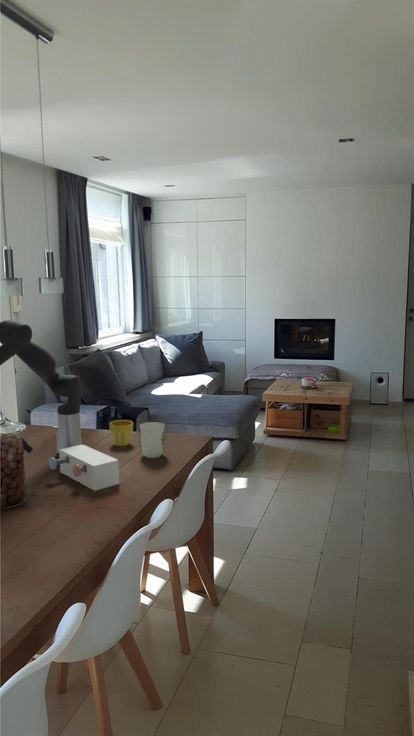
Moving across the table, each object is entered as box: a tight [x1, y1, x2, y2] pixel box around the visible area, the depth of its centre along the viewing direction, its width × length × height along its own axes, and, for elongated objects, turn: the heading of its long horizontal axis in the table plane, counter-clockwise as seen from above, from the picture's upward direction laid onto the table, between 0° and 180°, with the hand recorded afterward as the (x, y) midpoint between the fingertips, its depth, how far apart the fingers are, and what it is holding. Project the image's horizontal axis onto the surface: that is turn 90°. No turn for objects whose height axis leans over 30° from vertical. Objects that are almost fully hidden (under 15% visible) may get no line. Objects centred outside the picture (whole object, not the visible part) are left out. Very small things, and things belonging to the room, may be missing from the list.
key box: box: [58, 444, 120, 492], centre depth 214 cm, size 10×26×9 cm, turn 41°
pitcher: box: [138, 421, 167, 459], centre depth 241 cm, size 11×18×14 cm, turn 178°
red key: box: [73, 464, 86, 477], centre depth 206 cm, size 8×4×4 cm, turn 131°
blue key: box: [48, 456, 69, 470], centre depth 214 cm, size 8×4×4 cm, turn 131°
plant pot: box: [109, 419, 134, 447], centre depth 257 cm, size 10×10×10 cm
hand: (30, 450), depth 205 cm, fingers closed
